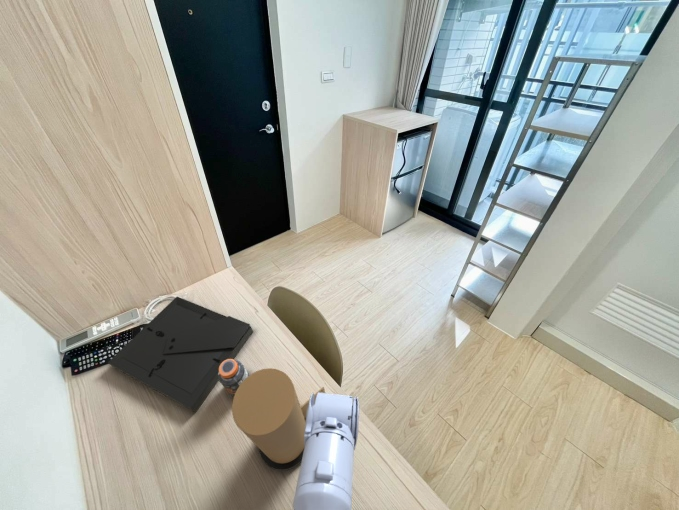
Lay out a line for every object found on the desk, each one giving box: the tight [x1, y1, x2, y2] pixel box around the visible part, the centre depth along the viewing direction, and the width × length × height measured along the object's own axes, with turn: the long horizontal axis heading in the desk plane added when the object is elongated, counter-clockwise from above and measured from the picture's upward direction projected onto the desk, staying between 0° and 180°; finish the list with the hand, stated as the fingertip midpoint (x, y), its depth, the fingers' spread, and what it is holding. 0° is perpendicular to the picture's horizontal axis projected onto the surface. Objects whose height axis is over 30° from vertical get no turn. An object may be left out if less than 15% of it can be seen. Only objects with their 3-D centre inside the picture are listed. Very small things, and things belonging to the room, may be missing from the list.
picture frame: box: [107, 296, 254, 413], centre depth 75 cm, size 23×4×28 cm
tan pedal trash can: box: [231, 367, 326, 463], centre depth 53 cm, size 10×16×24 cm, turn 132°
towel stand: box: [258, 418, 306, 472], centre depth 61 cm, size 12×12×1 cm
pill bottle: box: [218, 359, 250, 398], centre depth 65 cm, size 6×6×11 cm
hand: (335, 454), depth 50 cm, fingers closed
